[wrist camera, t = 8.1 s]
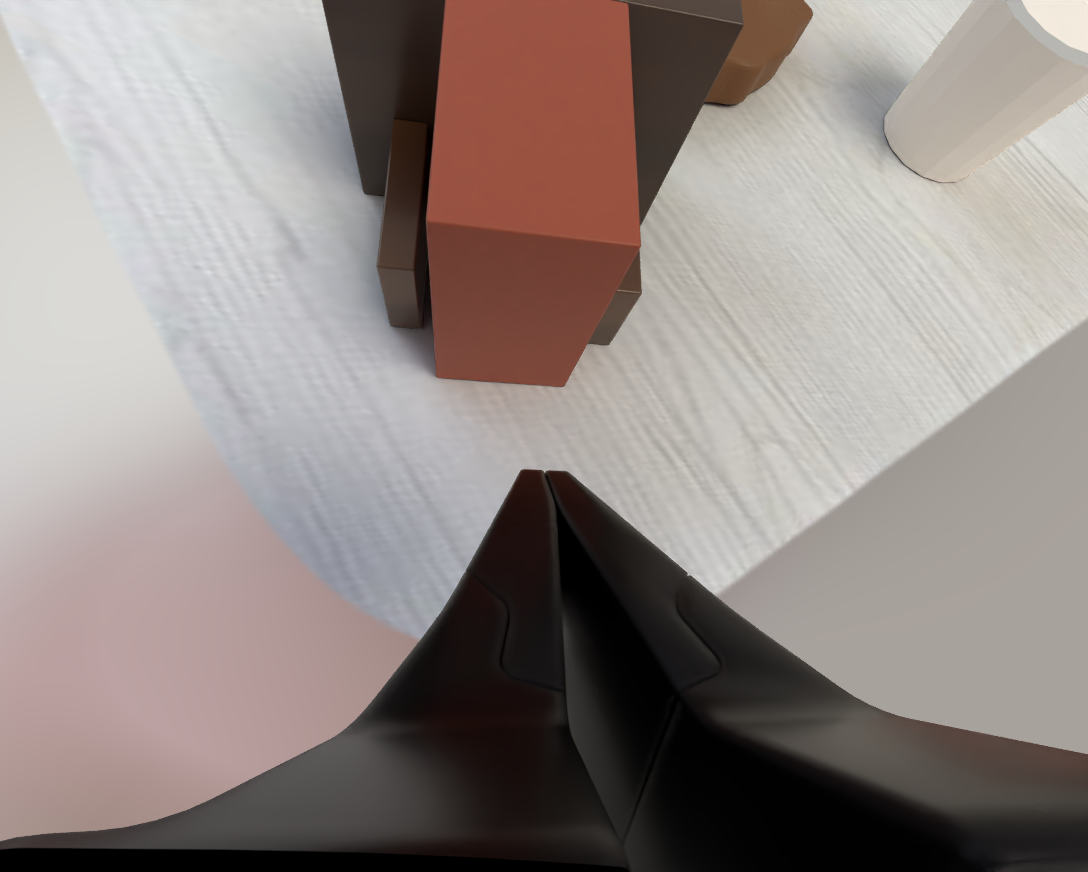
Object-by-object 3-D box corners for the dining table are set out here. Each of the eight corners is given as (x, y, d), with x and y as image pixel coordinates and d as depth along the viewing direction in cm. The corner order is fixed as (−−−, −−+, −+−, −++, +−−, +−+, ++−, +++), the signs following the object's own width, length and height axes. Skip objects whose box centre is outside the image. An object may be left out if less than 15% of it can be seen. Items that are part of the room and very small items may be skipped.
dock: (646, 349, 22) (769, 195, 14) (346, 323, 20) (270, 125, 12) (636, 156, 25) (732, -70, 16) (373, 118, 23) (328, -160, 15)
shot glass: (1007, 179, 29) (1173, 57, 22) (915, 203, 27) (1065, 78, 21) (942, 83, 30) (1080, -59, 24) (851, 100, 29) (971, -48, 22)
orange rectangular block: (564, 387, 21) (642, 246, 12) (436, 378, 20) (425, 221, 12) (563, 218, 23) (629, 1, 15) (448, 204, 22) (447, -34, 14)
